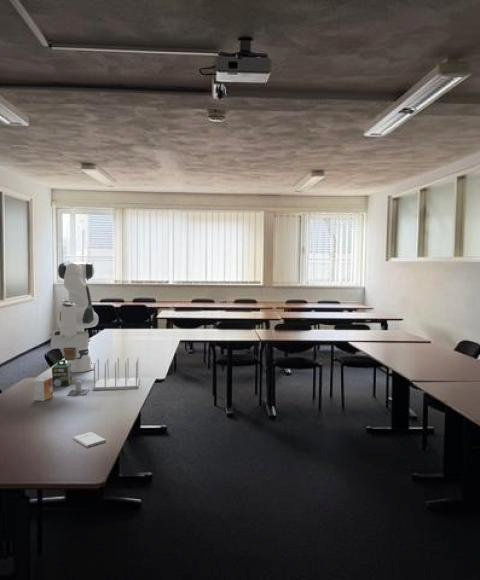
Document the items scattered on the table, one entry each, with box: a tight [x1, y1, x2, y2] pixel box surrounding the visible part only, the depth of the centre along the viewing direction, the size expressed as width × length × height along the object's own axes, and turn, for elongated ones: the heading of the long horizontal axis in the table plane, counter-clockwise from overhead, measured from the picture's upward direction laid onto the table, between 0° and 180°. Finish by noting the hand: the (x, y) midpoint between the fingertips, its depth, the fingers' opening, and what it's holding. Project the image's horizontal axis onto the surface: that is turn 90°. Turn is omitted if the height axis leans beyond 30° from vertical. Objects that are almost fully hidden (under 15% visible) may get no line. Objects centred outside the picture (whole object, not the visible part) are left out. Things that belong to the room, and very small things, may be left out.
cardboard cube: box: [63, 348, 76, 362], centre depth 266 cm, size 5×5×7 cm
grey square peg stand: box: [66, 380, 91, 397], centre depth 259 cm, size 10×10×7 cm
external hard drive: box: [72, 431, 107, 448], centre depth 193 cm, size 2×8×12 cm
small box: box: [34, 376, 54, 402], centre depth 249 cm, size 8×6×10 cm
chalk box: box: [51, 359, 73, 388], centre depth 276 cm, size 9×9×15 cm
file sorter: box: [92, 356, 141, 391], centre depth 274 cm, size 25×17×16 cm
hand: (70, 355), depth 266 cm, fingers closed on cardboard cube, 5 cm apart
